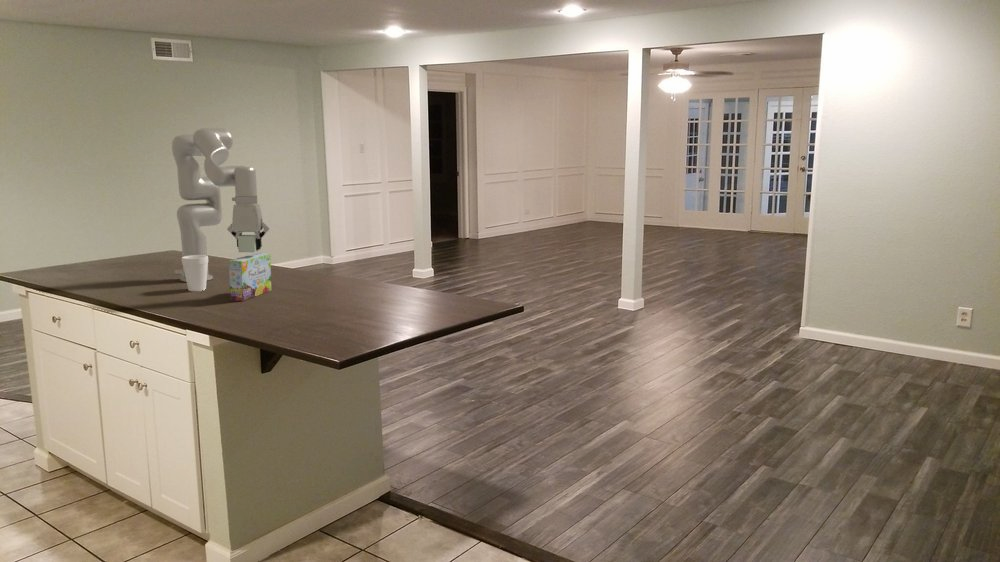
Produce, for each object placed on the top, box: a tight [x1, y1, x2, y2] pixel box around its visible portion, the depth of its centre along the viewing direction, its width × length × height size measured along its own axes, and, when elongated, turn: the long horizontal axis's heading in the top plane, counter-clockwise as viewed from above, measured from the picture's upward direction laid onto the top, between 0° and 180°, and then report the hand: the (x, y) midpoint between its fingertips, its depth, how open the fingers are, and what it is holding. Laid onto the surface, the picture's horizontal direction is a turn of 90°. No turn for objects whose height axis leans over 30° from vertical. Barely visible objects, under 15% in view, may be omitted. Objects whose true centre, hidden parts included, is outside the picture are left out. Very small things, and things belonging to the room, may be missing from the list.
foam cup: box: [181, 255, 209, 292], centre depth 290 cm, size 10×9×13 cm
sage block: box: [237, 233, 261, 253], centre depth 277 cm, size 6×6×6 cm
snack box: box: [228, 252, 272, 302], centre depth 279 cm, size 21×6×15 cm, turn 168°
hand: (249, 248), depth 277 cm, fingers closed on sage block, 6 cm apart
